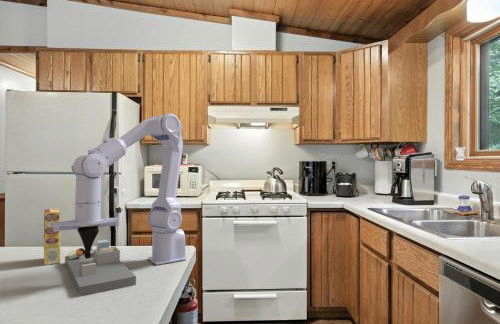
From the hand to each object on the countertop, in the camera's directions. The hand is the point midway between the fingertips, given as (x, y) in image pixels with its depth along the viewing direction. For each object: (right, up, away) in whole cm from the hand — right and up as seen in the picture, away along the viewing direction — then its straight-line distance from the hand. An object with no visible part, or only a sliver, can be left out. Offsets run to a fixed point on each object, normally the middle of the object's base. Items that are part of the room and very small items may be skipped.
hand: (87, 257), depth 79 cm
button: (0, -4, +10) cm, 11 cm away
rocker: (-9, -3, +14) cm, 17 cm away
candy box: (-19, -6, +17) cm, 27 cm away
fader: (-4, -4, +17) cm, 18 cm away
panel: (0, -6, +6) cm, 8 cm away
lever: (0, -3, 0) cm, 3 cm away
